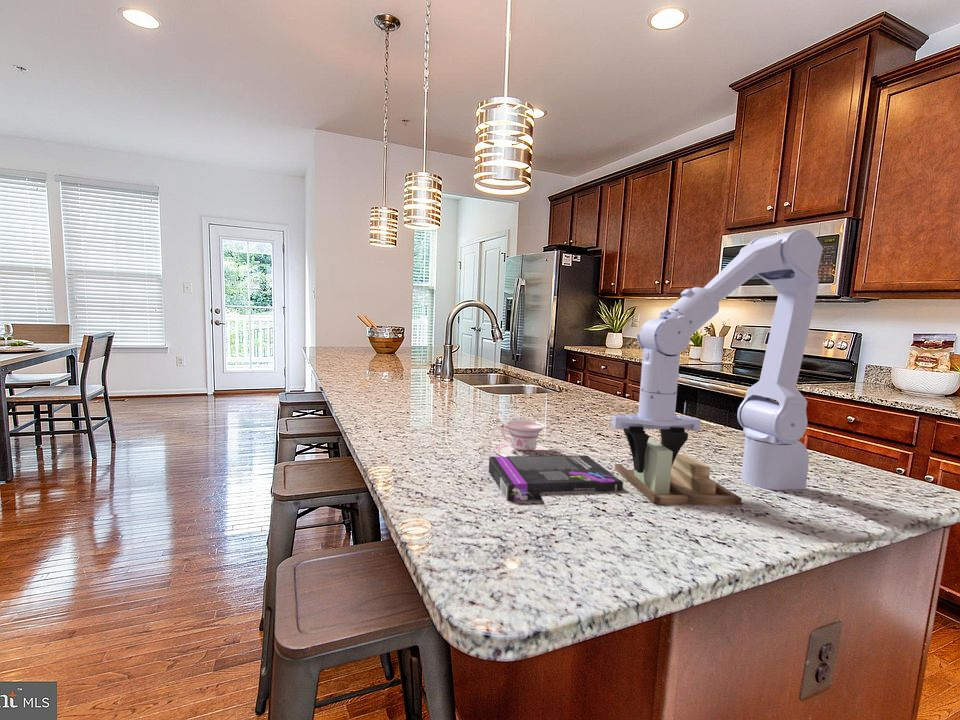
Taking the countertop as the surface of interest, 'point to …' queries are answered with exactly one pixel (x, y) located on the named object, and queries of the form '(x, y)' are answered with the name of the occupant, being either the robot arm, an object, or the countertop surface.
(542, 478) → the box
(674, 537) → the countertop surface
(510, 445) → the teacup
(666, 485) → the pale green block
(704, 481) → the offcut stack
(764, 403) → the robot arm
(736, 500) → the walnut rack
